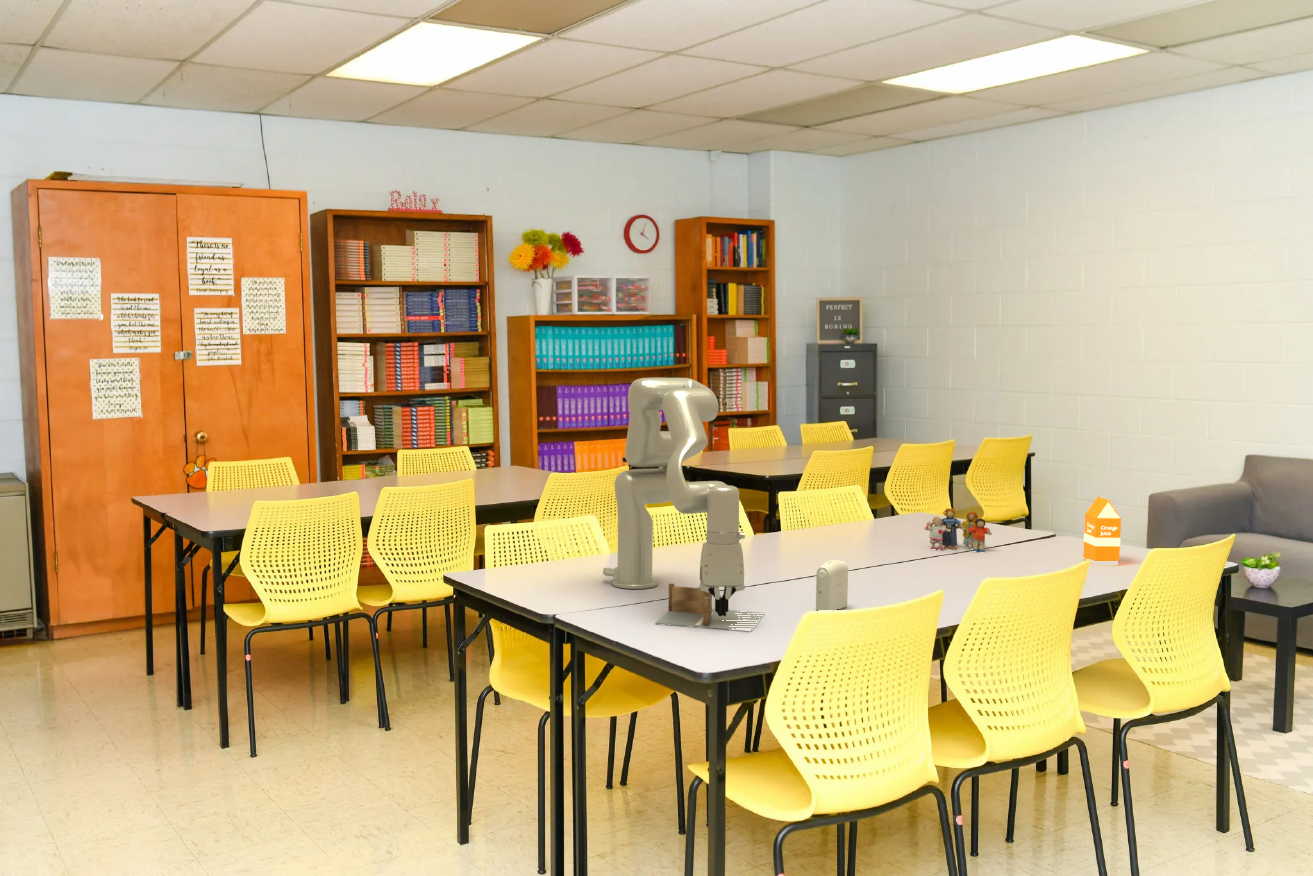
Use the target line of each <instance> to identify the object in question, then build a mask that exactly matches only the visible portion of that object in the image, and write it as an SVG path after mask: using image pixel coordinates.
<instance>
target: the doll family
mask: <svg viewBox="0 0 1313 876" xmlns="http://www.w3.org/2000/svg"><path fill="white" fill-rule="evenodd" d="M942 514H943V516H946V517H943V518H941V517H939V516H933V519H931V521H928V522H927V523H926V526H924V528H923V529H924V530H925V531H929V537H928V538H929V543H930V544H931V547H930V548H931V549H937V550H938V549H940V550H939V551H944V550H945V549H944V548H949V549H950V550H957V546H958V537H957V535H958V534H957V530H958V529H960V530H961V529H962V531H963V533H962V537H963V541H962V545H965V547H964V548H963V550H965V549H973V550H972V551H979V552H985V553H986V551H985V549H986V548H985V547H986V544H985V543H986V535H988V536H992V534H993V533H992V531H990V530H991V528H988V527H985V526H986V521H985V519H984V518H982V517H981V518H980V517H979V515H978V514H977V513H976V511H970V512H968V513H966V518H965V520H963V521H961V520H960V519H958V518H956V517H955V514H957V512H956V508H946V509H945V510H943V512H942ZM931 522H932V523H931ZM936 544H938V547H936ZM970 546H971V547H970ZM943 547H944V548H943ZM931 549H930V550H931ZM943 549H944V550H943ZM979 552H978V553H979Z"/></svg>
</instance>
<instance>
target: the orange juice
mask: <svg viewBox="0 0 1313 876" xmlns="http://www.w3.org/2000/svg"><path fill="white" fill-rule="evenodd" d="M1121 526H1122V518H1121V516H1120V515H1119V513H1118V512H1117V510H1116V509H1115V508H1114V506H1113V504H1112V502H1111V500H1110V499H1107V498H1103V497H1100V496H1097V497H1096V498H1095V500H1094V501H1093V502H1092V504H1091V505H1090V506H1089V508H1088V509H1087V511H1086V512H1085V513H1084V528H1083V529H1084V530H1083V531H1084V532H1083V553H1082V554H1083V555H1082V556H1083V557H1084V558H1086V559H1091V560H1094V561H1117V560H1119V561H1120V555H1121V554H1120V553H1121V550H1120V549H1121V534H1122V533H1121V529H1122V527H1121ZM1086 559H1084V560H1086ZM1084 560H1083V561H1084Z"/></svg>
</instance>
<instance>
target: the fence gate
mask: <svg viewBox="0 0 1313 876" xmlns="http://www.w3.org/2000/svg"><path fill="white" fill-rule="evenodd" d="M710 616H711V593H710V592H706V593H705V597H704V604H703V625H709V621H710Z"/></svg>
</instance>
